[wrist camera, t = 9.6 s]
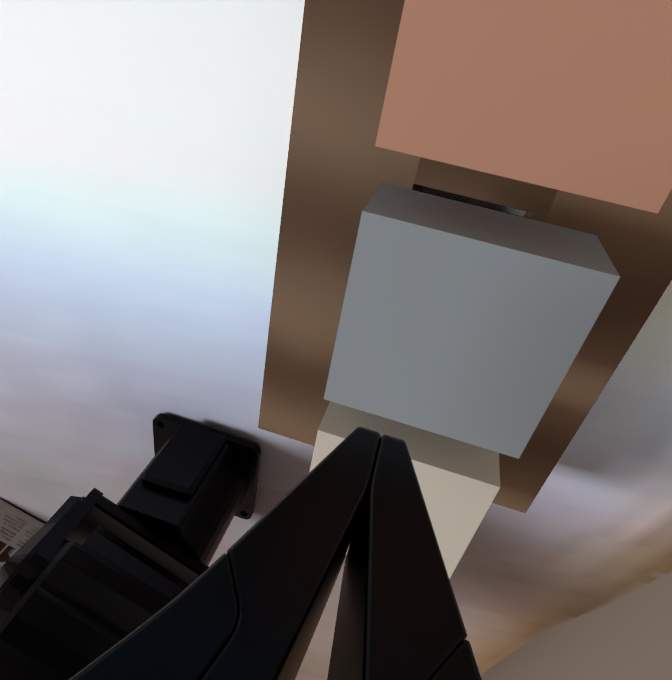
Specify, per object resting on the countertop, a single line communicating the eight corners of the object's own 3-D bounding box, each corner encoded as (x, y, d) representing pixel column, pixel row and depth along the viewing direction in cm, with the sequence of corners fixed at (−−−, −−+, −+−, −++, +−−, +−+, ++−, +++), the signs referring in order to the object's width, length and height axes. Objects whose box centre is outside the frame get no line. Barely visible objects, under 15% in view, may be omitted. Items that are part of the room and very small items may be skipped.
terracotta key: (594, 150, 13) (657, 213, 9) (412, 109, 14) (375, 145, 9) (705, -97, 11) (895, -212, 6) (470, -135, 11) (459, -269, 6)
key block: (520, 454, 23) (525, 512, 20) (284, 382, 25) (258, 427, 22) (824, -94, 12) (931, -135, 9) (362, -168, 13) (329, -224, 11)
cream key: (453, 460, 21) (444, 588, 16) (338, 424, 21) (295, 537, 17) (495, 366, 18) (500, 487, 13) (361, 328, 19) (317, 430, 14)
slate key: (508, 339, 17) (518, 458, 12) (367, 300, 18) (323, 399, 13) (573, 195, 14) (620, 276, 9) (401, 154, 15) (362, 210, 10)
